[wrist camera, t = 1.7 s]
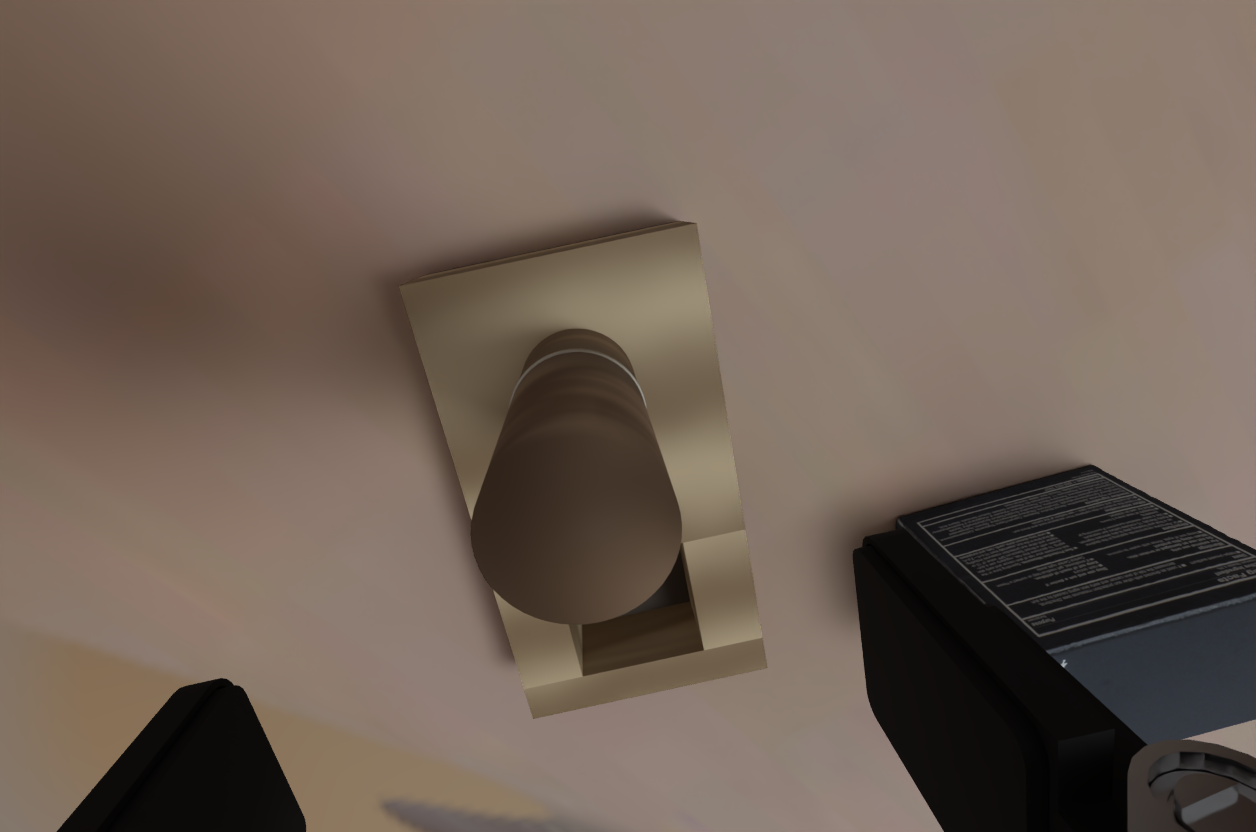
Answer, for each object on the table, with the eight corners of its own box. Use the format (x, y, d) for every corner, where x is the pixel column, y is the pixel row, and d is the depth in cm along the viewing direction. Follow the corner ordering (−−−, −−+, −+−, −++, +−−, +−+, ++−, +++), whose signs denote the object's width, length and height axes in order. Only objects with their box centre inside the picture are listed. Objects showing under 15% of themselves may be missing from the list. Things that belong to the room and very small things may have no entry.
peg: (623, 316, 24) (663, 412, 13) (646, 426, 26) (700, 602, 14) (506, 340, 24) (441, 460, 13) (535, 450, 26) (500, 645, 14)
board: (423, 275, 27) (398, 286, 23) (680, 221, 27) (696, 223, 23) (538, 660, 33) (533, 718, 30) (745, 615, 33) (767, 667, 30)
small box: (906, 621, 34) (1039, 790, 24) (890, 515, 32) (1030, 652, 22) (1099, 569, 34) (1312, 717, 24) (1095, 460, 32) (1328, 573, 22)
